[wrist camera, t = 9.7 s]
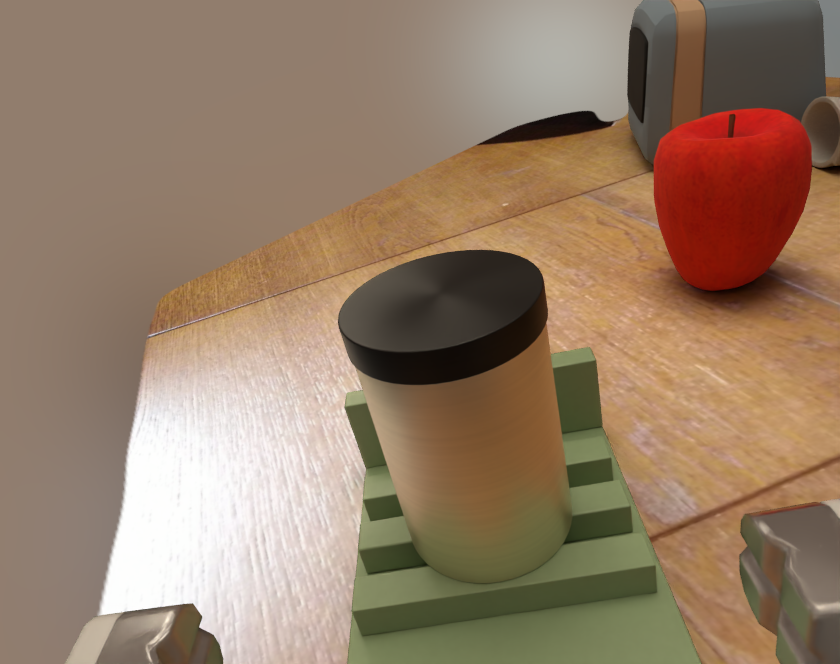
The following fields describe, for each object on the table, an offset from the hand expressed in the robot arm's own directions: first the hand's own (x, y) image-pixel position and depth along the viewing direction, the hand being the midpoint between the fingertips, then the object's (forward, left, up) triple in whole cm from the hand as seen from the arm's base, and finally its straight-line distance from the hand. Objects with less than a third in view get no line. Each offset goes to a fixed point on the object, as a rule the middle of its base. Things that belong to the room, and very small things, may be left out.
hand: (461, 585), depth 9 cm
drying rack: (+11, -6, -14) cm, 18 cm away
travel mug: (+11, -6, -11) cm, 17 cm away
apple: (+19, -31, -14) cm, 39 cm away
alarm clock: (+39, -56, -14) cm, 69 cm away
